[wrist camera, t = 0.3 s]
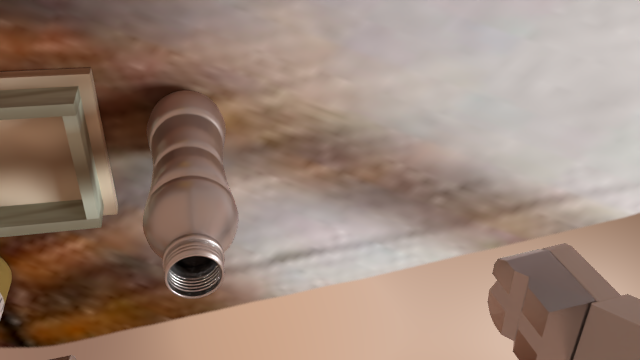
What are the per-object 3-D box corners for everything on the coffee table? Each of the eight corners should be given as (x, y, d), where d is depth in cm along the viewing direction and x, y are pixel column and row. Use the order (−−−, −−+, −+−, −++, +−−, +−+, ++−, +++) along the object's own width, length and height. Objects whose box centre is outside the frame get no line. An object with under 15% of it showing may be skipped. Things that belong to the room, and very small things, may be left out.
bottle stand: (-105, 76, 44) (-127, 102, 41) (90, 67, 47) (85, 91, 44) (-46, 221, 52) (-61, 252, 49) (118, 206, 55) (114, 234, 52)
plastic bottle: (230, 88, 51) (260, 238, 35) (214, 154, 54) (235, 318, 38) (153, 74, 48) (147, 228, 32) (142, 144, 52) (131, 313, 36)
